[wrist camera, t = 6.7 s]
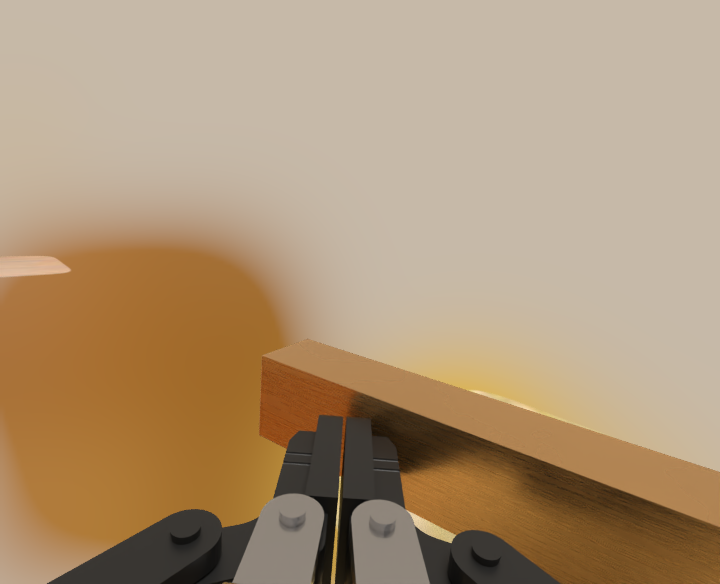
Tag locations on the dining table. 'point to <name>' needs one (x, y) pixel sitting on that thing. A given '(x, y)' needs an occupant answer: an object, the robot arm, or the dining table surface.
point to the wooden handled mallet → (511, 470)
